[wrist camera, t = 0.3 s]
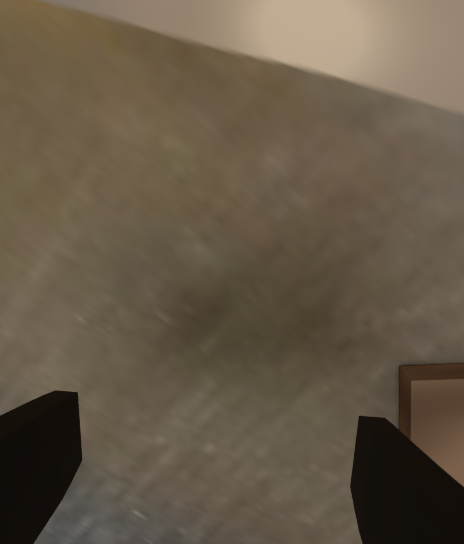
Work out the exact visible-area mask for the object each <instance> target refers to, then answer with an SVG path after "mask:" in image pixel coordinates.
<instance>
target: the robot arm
mask: <svg viewBox="0 0 464 544" xmlns="http://www.w3.org/2000/svg"><path fill="white" fill-rule="evenodd" d="M81 462H82V448H81V433H80V419H79V404H78V392H68V391H53V392H50V393H48V394H45V395H43V396H41V397H38V398H36V399H34V400H32V401H30V402H28V403H26V404H23V405H21V406H19V407H17V408H15V409H13V410H11V411H9V412H7V413H5V414H3V415H1V416H0V544H33V543H34V542H35V540H36V539H37V537H38V536H39V534H40V533H41V531H42V530H43V528H44V527H45V525H46V524H47V522H48V521H49V519H50V518H51V516H52V515H53V513H54V512H55V510H56V508H57V507H58V505H59V504H60V502H61V501H62V499H63V497H64V495H65V493H66V491H67V489H68V488H69V486H70V484H71V482H72V480H73V478H74V476H75V474H76V472H77V470H78V468H79V466H80V464H81ZM350 488H351V493H352V498H353V504H354V509H355V514H356V518H357V523H358V528H359V533H360V536H361V539H362V543H363V544H464V487H463V486H462V485H461V484H460V483H459V482H457V481H456V480H455V479H454V478H453V477H451V476H450V475H449V474H448V473H447V472H446V471H445V470H443V469H442V468H441V467H440V466H439V465H438V464H437V463H435V462H434V461H433V460H432V459H431V458H430V457H429V456H428V455H426V454H425V453H424V452H423V451H422V450H421V449H420V448H419V447H418V446H416V445H415V444H414V443H413V442H412V441H411V440H410V439H409V438H407V437H406V436H405V435H404V434H403V433H402V432H401V431H400V430H399V429H397V428H396V427H395V426H394V425H393V424H392V423H390V422H389V421H388V420H387V419H385V418H380V417H368V416H359V420H358V428H357V436H356V444H355V452H354V461H353V469H352V477H351V485H350Z"/></svg>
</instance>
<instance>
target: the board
mask: <svg viewBox="0 0 464 544" xmlns="http://www.w3.org/2000/svg"><path fill="white" fill-rule="evenodd" d="M399 430H400V431H401V432H402V433H403V434H404V435H405V436H406V437H407V438H409V439H410V440H411V441H412V442H413V443H414V444H415V445H416V446H418V447H419V448H420V449H421V450H422V451H423V452H424V453H425V454H426V455H428V456H429V457H430V458H431V459H432V460H433V461H434V462H435V463H437V464H438V465H439V466H440V467H441V468H442V469H443V470H445V471H446V472H447V473H448V474H449V475H450V476H451V477H453V478H454V479H455V480H456V481H457V482H459V483H460V484H461V485H462V486H463V487H464V363H461V364H437V365H413V366H400V413H399Z"/></svg>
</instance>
